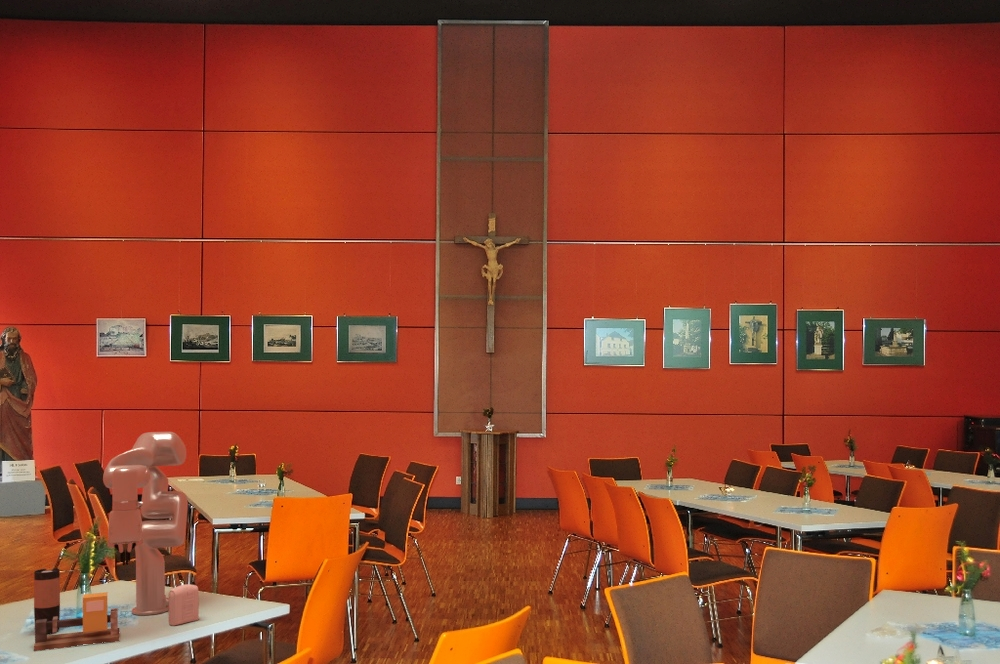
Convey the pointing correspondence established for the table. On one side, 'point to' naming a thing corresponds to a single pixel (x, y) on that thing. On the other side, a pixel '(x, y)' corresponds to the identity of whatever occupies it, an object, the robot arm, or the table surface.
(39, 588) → the travel mug
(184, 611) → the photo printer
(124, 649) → the table surface
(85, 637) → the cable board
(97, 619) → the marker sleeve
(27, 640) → the table surface
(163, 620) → the table surface
